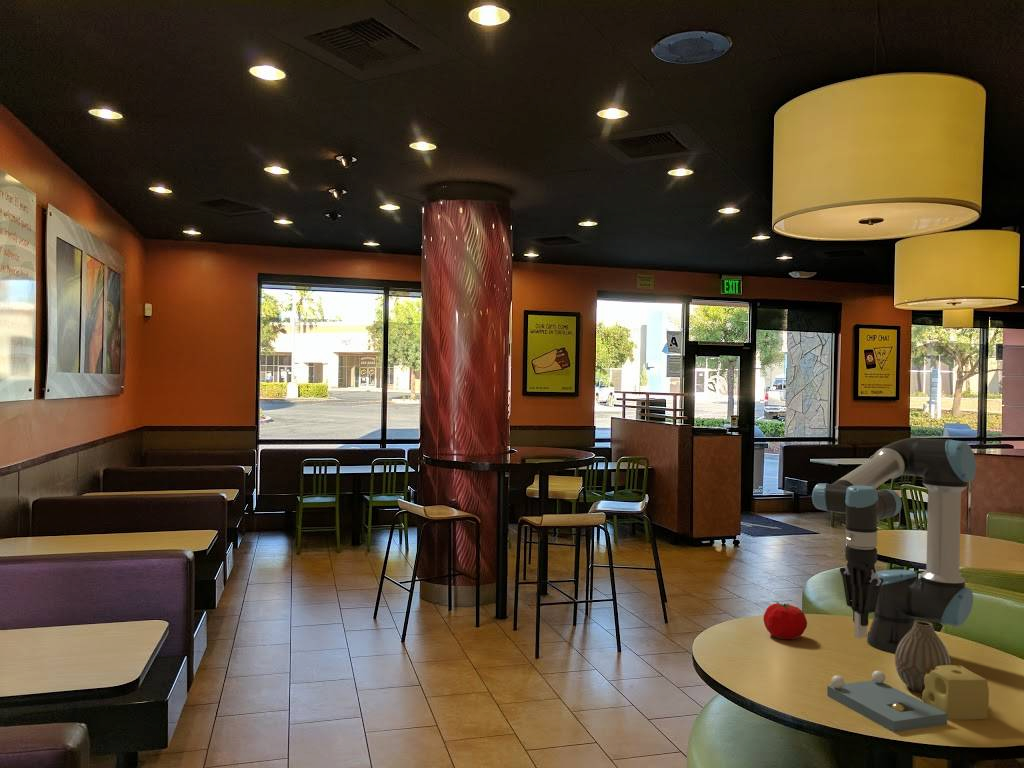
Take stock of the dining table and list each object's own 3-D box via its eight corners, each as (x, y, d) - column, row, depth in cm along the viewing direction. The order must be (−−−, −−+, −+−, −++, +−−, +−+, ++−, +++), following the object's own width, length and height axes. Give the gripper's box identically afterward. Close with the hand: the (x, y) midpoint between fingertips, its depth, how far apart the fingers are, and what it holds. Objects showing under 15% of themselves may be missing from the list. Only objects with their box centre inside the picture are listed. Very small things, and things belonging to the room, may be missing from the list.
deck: (877, 689, 208) (877, 679, 208) (947, 724, 187) (947, 713, 187) (827, 695, 203) (827, 685, 203) (893, 732, 182) (893, 721, 182)
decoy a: (878, 680, 208) (878, 668, 208) (888, 684, 205) (888, 672, 205) (868, 681, 207) (869, 669, 207) (878, 686, 204) (878, 673, 204)
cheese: (921, 703, 199) (922, 664, 199) (961, 703, 200) (962, 664, 200) (947, 721, 189) (948, 680, 189) (990, 720, 190) (991, 679, 190)
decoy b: (838, 685, 204) (838, 672, 204) (847, 689, 201) (847, 677, 201) (828, 686, 203) (828, 674, 203) (837, 691, 200) (837, 678, 200)
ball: (900, 699, 192) (909, 709, 189) (896, 709, 193) (905, 719, 190) (889, 700, 191) (898, 710, 188) (885, 710, 192) (895, 720, 190)
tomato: (755, 635, 251) (756, 602, 251) (775, 627, 259) (776, 595, 259) (794, 646, 241) (795, 612, 241) (814, 638, 249) (814, 605, 249)
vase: (956, 689, 209) (958, 623, 209) (941, 703, 200) (942, 634, 200) (904, 675, 218) (905, 612, 218) (886, 688, 209) (888, 622, 209)
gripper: (831, 542, 209) (830, 630, 209) (868, 553, 196) (867, 647, 197) (854, 539, 211) (853, 627, 211) (892, 550, 199) (891, 643, 199)
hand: (860, 636), depth 204 cm, fingers closed
